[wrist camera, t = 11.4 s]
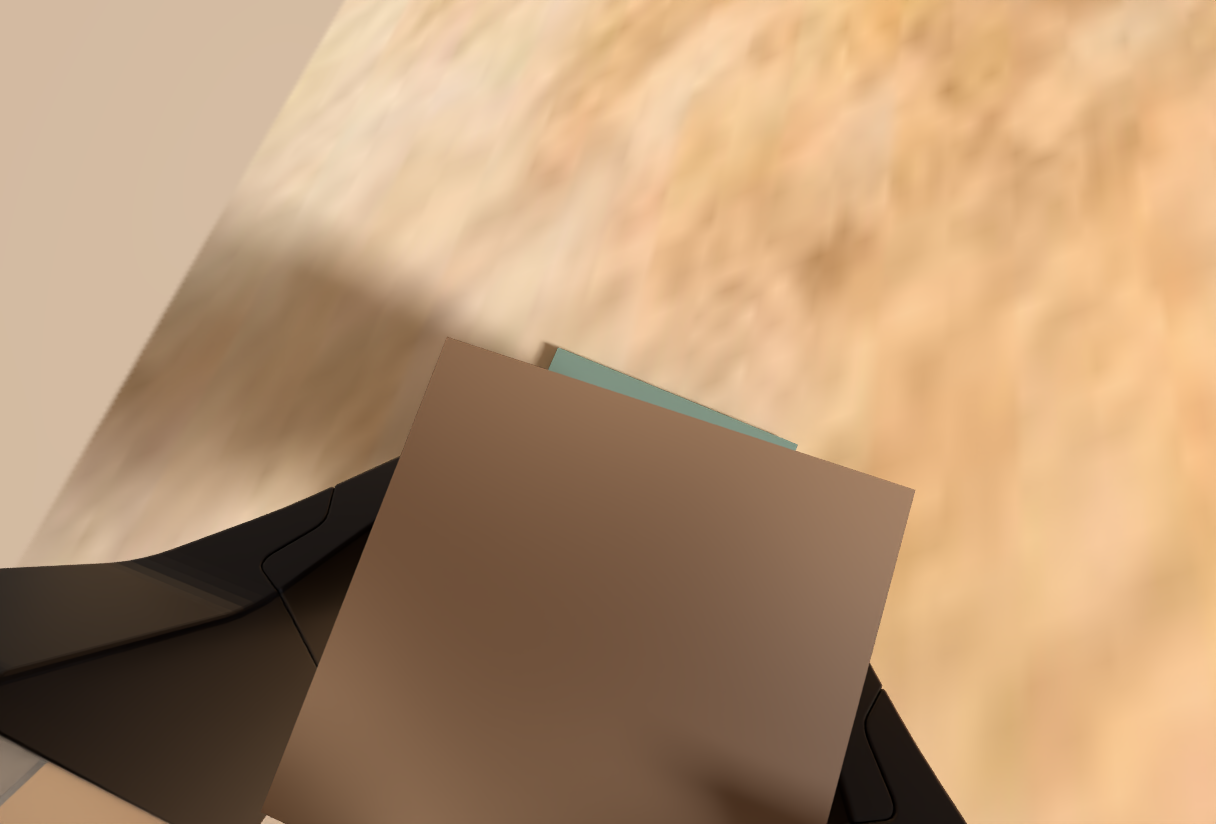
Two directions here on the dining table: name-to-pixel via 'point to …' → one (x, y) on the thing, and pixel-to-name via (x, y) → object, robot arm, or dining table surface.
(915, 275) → the dining table surface
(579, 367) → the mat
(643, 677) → the letter block
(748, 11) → the dining table surface
